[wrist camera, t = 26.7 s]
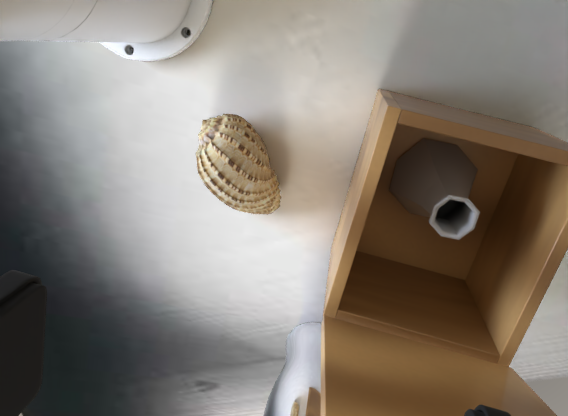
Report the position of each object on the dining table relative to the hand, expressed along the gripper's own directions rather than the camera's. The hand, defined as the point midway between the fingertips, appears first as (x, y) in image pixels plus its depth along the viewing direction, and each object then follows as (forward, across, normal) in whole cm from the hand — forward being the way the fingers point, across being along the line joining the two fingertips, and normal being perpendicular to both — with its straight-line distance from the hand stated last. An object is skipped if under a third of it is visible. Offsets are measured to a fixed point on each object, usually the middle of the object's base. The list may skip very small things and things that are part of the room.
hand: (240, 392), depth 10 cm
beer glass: (+34, -4, +23) cm, 42 cm away
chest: (+34, -10, +3) cm, 36 cm away
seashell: (+34, +7, +5) cm, 36 cm away
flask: (+34, -10, +2) cm, 35 cm away
